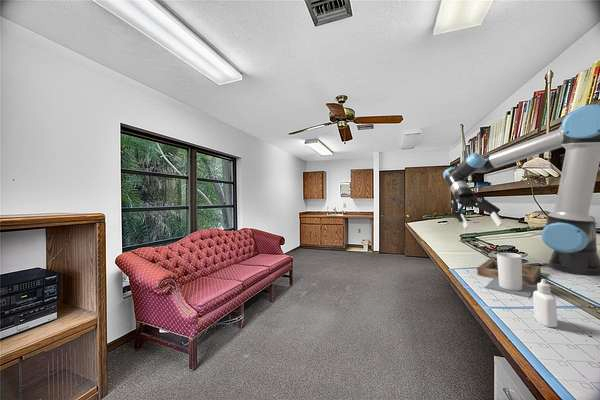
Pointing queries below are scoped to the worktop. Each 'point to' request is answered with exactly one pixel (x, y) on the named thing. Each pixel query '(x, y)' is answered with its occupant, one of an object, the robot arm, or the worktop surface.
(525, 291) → the rubber mat
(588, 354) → the worktop surface
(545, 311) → the eye dropper bottle
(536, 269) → the walnut collar
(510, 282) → the mug
